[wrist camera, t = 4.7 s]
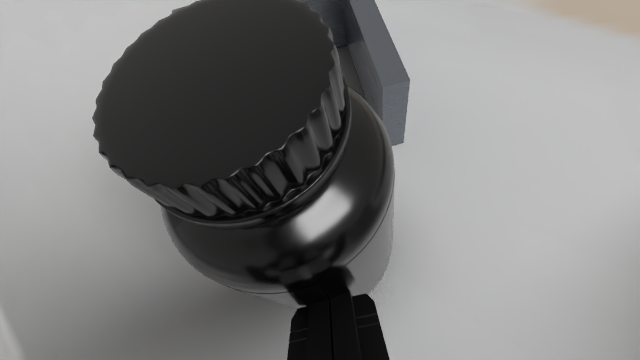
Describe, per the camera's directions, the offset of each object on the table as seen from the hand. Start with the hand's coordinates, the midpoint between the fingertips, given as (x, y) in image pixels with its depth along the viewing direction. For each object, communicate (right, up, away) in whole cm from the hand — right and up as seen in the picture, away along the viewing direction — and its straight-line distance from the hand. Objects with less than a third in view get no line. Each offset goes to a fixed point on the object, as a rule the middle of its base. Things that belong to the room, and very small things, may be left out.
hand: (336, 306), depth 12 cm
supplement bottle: (0, +1, +5) cm, 5 cm away
